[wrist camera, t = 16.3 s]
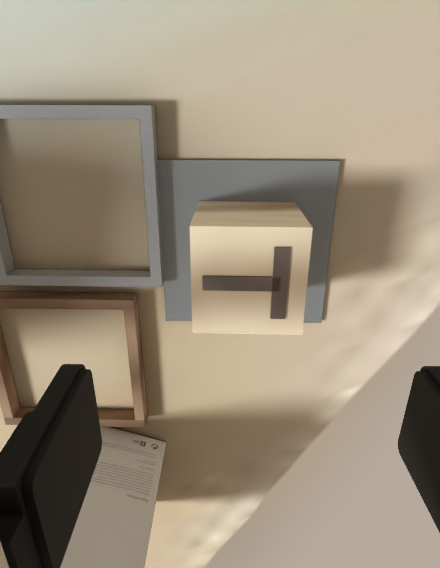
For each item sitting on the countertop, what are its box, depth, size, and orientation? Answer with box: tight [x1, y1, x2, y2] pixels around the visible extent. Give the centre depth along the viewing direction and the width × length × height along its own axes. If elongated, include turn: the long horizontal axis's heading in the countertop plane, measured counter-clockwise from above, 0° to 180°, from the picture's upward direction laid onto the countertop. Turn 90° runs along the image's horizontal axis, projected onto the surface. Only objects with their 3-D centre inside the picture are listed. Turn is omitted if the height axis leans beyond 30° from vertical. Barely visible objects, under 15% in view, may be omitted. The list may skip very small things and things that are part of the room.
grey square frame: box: [0, 105, 164, 287], centre depth 25 cm, size 11×11×1 cm
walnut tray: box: [0, 291, 148, 427], centre depth 30 cm, size 11×11×1 cm
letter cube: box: [190, 201, 313, 335], centre depth 23 cm, size 6×6×6 cm
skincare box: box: [60, 426, 166, 568], centre depth 27 cm, size 8×7×16 cm
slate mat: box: [157, 159, 340, 323], centre depth 26 cm, size 11×11×1 cm
